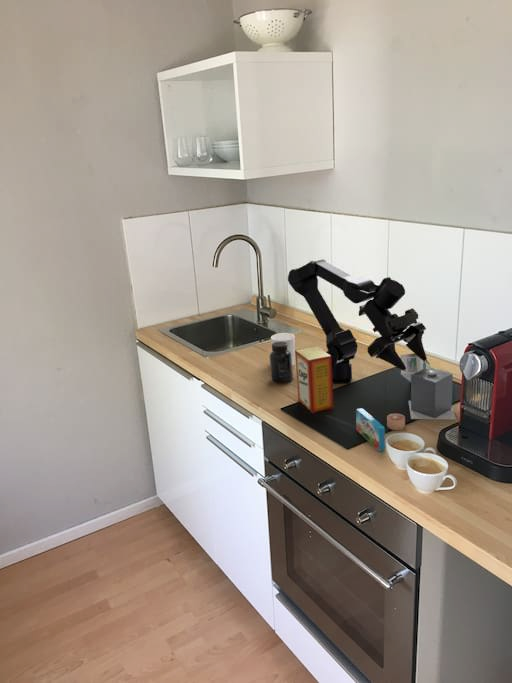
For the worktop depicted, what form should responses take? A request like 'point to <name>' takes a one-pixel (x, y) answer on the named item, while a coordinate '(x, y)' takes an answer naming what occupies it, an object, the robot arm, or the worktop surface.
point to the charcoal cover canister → (431, 392)
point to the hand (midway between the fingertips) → (415, 364)
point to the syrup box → (412, 365)
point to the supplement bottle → (281, 363)
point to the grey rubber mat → (417, 415)
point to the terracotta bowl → (396, 421)
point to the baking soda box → (314, 378)
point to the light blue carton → (370, 429)
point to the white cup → (288, 339)
